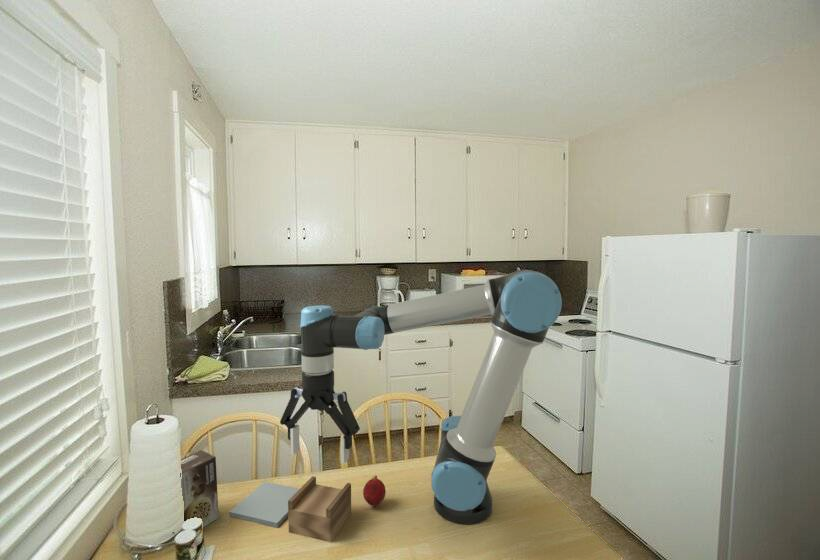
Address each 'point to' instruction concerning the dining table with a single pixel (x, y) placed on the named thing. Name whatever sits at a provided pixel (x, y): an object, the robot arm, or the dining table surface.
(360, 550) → the dining table surface
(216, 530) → the dining table surface
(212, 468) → the coffee box
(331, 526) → the wooden channel block
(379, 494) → the onion
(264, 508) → the base board
